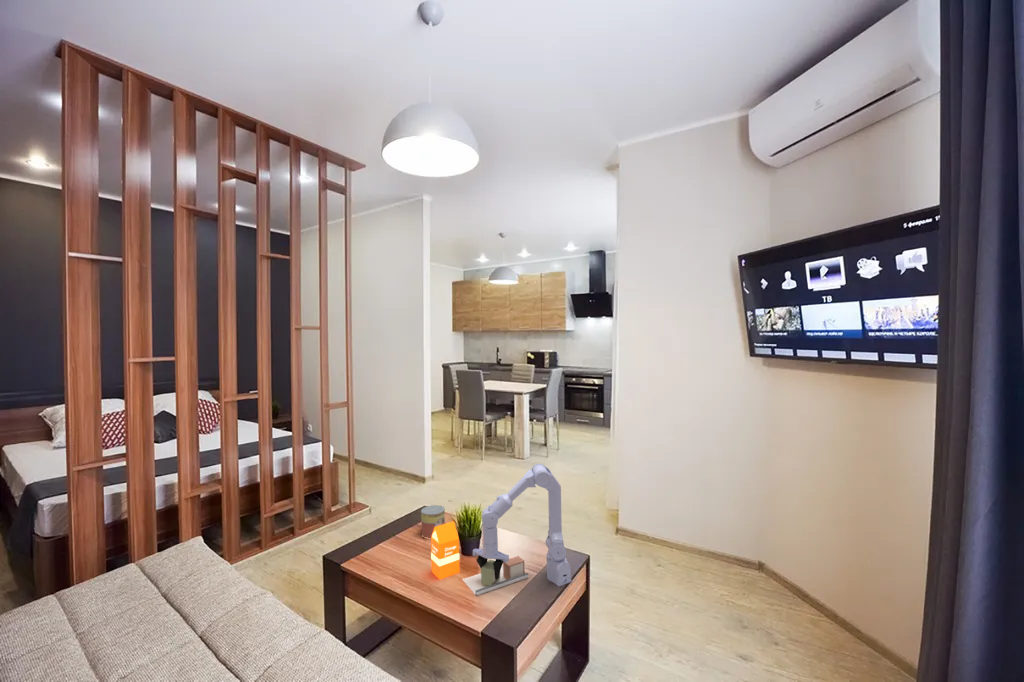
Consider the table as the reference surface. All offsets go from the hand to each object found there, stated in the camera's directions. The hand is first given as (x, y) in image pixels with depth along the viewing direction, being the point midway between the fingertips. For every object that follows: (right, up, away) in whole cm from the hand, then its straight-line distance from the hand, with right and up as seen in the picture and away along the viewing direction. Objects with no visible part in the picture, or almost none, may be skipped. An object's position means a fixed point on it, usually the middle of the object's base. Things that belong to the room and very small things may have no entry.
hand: (491, 577), depth 162 cm
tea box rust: (+9, -2, +4) cm, 10 cm away
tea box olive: (0, -1, 0) cm, 1 cm away
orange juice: (-19, -4, +8) cm, 21 cm away
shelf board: (+1, -3, +3) cm, 4 cm away
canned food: (-30, -4, +44) cm, 54 cm away
